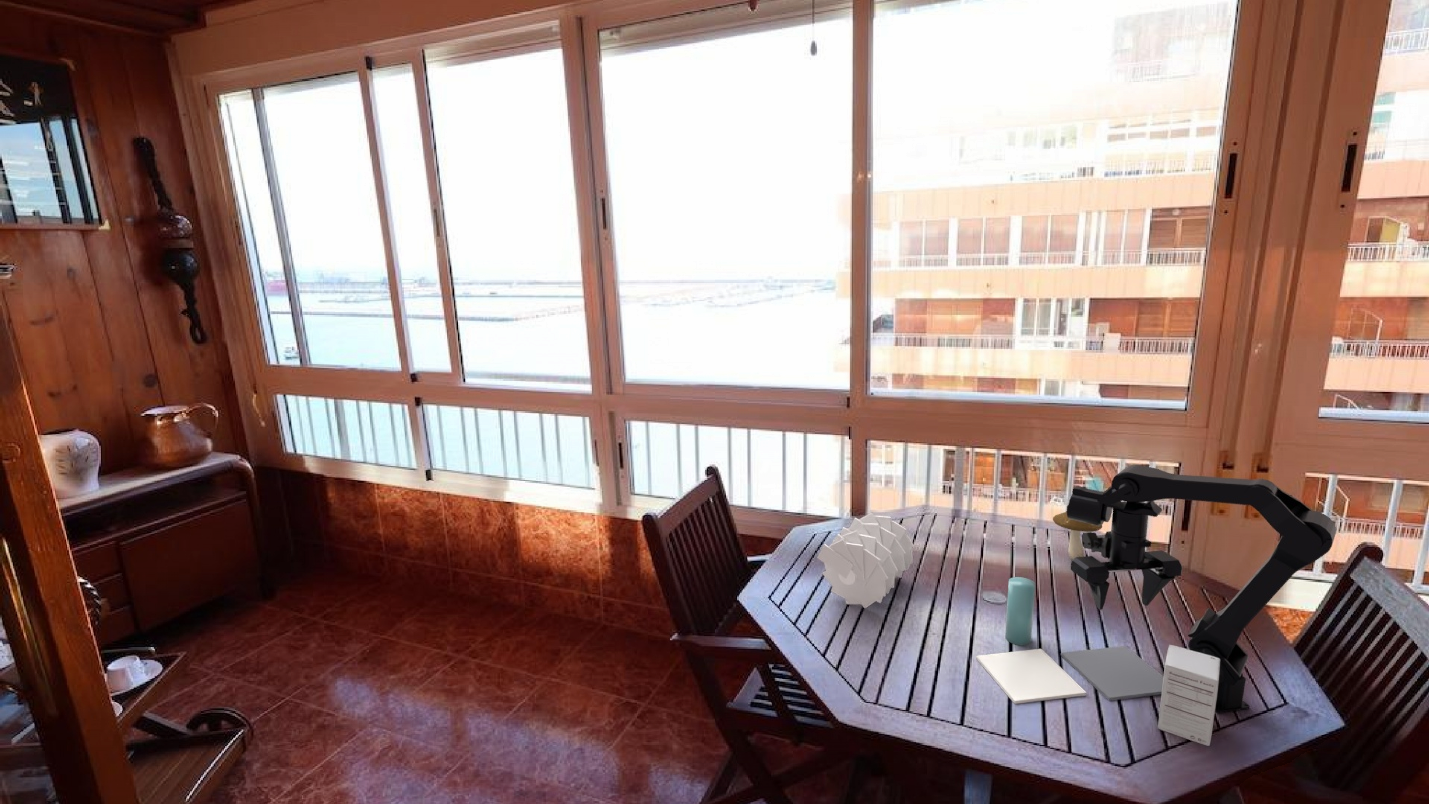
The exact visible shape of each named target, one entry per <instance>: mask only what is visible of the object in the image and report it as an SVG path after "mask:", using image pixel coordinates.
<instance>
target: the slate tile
mask: <svg viewBox="0 0 1429 804" xmlns="http://www.w3.org/2000/svg"><path fill="white" fill-rule="evenodd" d="M1060 656H1061V658H1063V659H1064V661H1066V662H1067V663H1068V664H1069V665H1070V666H1071V667H1072V668H1074V669H1075V670H1076V671H1077V672H1078V674H1079V675H1081V676H1082V677H1083V678H1084V679H1085V680H1086V681H1087V682H1088V683H1090V684H1091V685H1092V686H1093V687H1094V688H1095V689H1096V691H1098V692H1099V693H1100V694H1102V696H1103V697H1104V698H1105V699H1107V700H1108V701H1115V700H1125V699H1126V700H1127V699H1132V698H1133V699H1134V698H1141V697H1149V696H1150V697H1151V696H1158V695H1162V687H1163V678H1164V675H1162V674H1161V673H1160V672H1159V671H1158V670H1156V669H1155V668H1154V667H1152V666H1151V665H1150V664H1149V663H1147V662H1146V660H1144V659H1142V657H1140V656H1138V655H1137V654H1136V653H1135V652H1134V651H1133V650H1131V649H1130V648H1129V647H1127V646H1126V645H1121V646H1120V645H1119V646H1113V647H1111V646H1110V647H1104V648H1103V647H1101V648H1094V649H1092V648H1091V649H1085V650H1084V649H1083V650H1075V651H1065V652H1061V653H1060Z"/></svg>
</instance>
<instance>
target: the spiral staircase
mask: <svg viewBox="0 0 1429 804" xmlns="http://www.w3.org/2000/svg"><path fill="white" fill-rule="evenodd" d="M906 531H907V528H905V527H904V526H902V525H901V524H899V523H898V522H896V521H894V520H892V517H891V516H885V515H884V516H882V515H875V514H874V513H873V512H871V513H868V514H866V515H864V516H863V517H861V518H857V517H854V518H853V521H852V522H851V524H850V526H849V527H844V526H843V527H842V529H841V531H840V534H839V533H837V535H835V537H834V539H833V541H832V542H831V543H830V545H828V544H825V543H824V544H823V546H822V548H820V551H819V553H818V555H817V557H816V558H817V559H818V560H820V561H821V562H822V563H823V564H824V569H825V571H823V572H822V575H823V576H824V578H825V580H827V581H828V583H829V584H830V585H831V590H830V592H832V593H833V594H835V595H837V596H839V597H840V598H843V599H844V600H845V602H846V605H861V606H862V607H863V608H864V609H867V608H868V607H869V606H870V605H873V604H874V603H875V602H877V603H879V604H881V603H882V601H883V598H884V597H886V596H887V594H889V593H890V590H891V589H894V588H895V580H896V578H897V577H898V578H900V579H901V578H902V577H903V573H904V571H908V570H909V568H910V565H911V564H913V563H914V560H913V548H914V547H915V545H914V542H913V541H912V540H911V538H910V537H909V535H908V533H907V532H906Z"/></svg>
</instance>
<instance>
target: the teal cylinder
mask: <svg viewBox="0 0 1429 804" xmlns="http://www.w3.org/2000/svg"><path fill="white" fill-rule="evenodd" d="M1035 593H1036V583H1035V582H1034V581H1033V580H1032V579H1029V578H1026V577H1022V576H1017V577H1016V576H1013V577H1010V578H1009V579H1008V587H1007V600H1006V601H1007V602H1006V603H1007V605H1006V619H1005V632H1004V633H1005V635H1004V637H1005V638H1004V639H1006V641H1007V642H1009V643H1011V644H1012V645H1015V646H1022V647H1023V646H1028V645H1030V644H1031V643H1032V636H1033V635H1032V634H1033V623H1034V622H1033V621H1034V620H1033V619H1034V607H1035V606H1034V605H1035V595H1036V594H1035Z"/></svg>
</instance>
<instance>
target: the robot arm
mask: <svg viewBox="0 0 1429 804" xmlns="http://www.w3.org/2000/svg"><path fill="white" fill-rule="evenodd" d="M1167 499H1168V500H1169V499H1170V500H1172V499H1174V500H1185V501H1195V502H1196V501H1197V502H1208V503H1216V504H1217V503H1218V504H1227V505H1228V504H1231V505H1240V506H1251V508H1253V509H1254V510H1256V511H1257V512H1258V513H1259V514H1260V516H1262V517H1263V519H1264V520H1265V521H1266V522H1267V523H1268V524H1269V525H1270V526H1271V528H1272V529H1273V530H1275V531H1276V532H1277V533H1278V534H1279V535H1280V536H1281V537H1280V539H1279V540H1278V543H1277V544H1276V547H1275V548H1274V551H1273V552H1272V553H1271V554H1270V556H1269V557H1268V558H1267V559H1266V560H1265V561H1264V563H1263V564H1262V565H1261V566H1260V567H1259V568H1258V569H1257V571H1256V572H1255V573H1254V574H1253V575H1252V577H1251V578H1249V580H1248V581H1247V582H1246V583H1245V584H1244V585H1243V587H1242V588H1241V589H1240V590H1239V591H1238V592H1237V593H1236V595H1235V596H1234V597H1233V598H1232V599H1231V600H1230V601H1229V603H1228V604H1227V605H1226V606H1225V607H1224V608H1223V609H1221V610H1219V611H1217V612H1215V611H1214V610H1213V609H1212V608H1210V607H1207V609H1206V610H1205V612H1204V614H1203V615H1202V617H1201V618H1200V619H1197V620H1196V621H1195V622H1194V624H1193V626H1192V627H1191V629H1190V631H1189V633H1188V634H1187V637H1188V638H1190V640H1189V641H1188V646H1187V647H1188V650H1192V651H1195V652H1199V653H1203V654H1207V655H1210V656H1214V657H1217V658H1219V659H1220V670H1219V682H1218V691H1217V699H1216V706H1215V712H1216V713H1226V712H1228V713H1229V712H1235V711H1243V710H1250V705H1249V704H1248V703H1247V702H1245V701H1244V696H1245V695H1244V694H1245V689H1246V688H1245V687H1246V681H1247V678H1246V677H1245V676H1244V674H1243V671H1244V669H1245V666H1246V664H1247V662H1248V659H1249V654H1248V653H1247V652H1246V651H1245V650H1244V648H1243V647H1242V646H1241V645H1240V644H1239V643H1238V640H1239V639H1240V637H1241V634H1242V633H1243V631H1244V629H1245V628H1246V627H1247V626H1248V625H1249V624H1250V623H1251V621H1252V620H1253V619H1254V618H1255V617H1256V616H1257V615H1258V614H1259V613H1260V612H1261V610H1263V608H1264V607H1265V606H1266V605H1267V604H1268V603H1269V602H1270V600H1272V598H1273V597H1274V596H1275V595H1276V594H1277V593H1279V591H1280V590H1281V589H1282V587H1284V586H1285V585H1286V583H1288V581H1289V580H1290V579H1291V578H1292V577H1293V576H1294V575H1295V573H1297V572H1299V571H1300V570H1303V569H1304V568H1306V567H1308V566H1311V564H1313V563H1315V562H1316V561H1317V560H1319V559H1321V558H1322V557H1323V556H1325V555H1326V554H1328V553H1329V552H1330V550H1331V548H1332V547H1333V543H1334V541H1335V537H1336V535H1337V526H1336V523H1335V522H1334V521H1333V520H1332V519H1331V517H1329V516H1328V515H1326V514H1325V513H1322V512H1320V511H1317V510H1316V511H1315V510H1313V509H1311V508H1310V507H1309V506H1307V505H1306V504H1305V503H1304V502H1302V501H1301V500H1300V499H1298V498H1296V497H1295V496H1292V495H1291V494H1289V493H1287V492H1286V491H1284V490H1282V489H1281V488H1280V487H1279V486H1277V485H1276V484H1275V483H1274V482H1272V481H1271V480H1268V479H1266V478H1255V479H1248V478H1235V477H1234V478H1232V477H1220V476H1219V477H1218V476H1207V475H1206V476H1204V475H1187V474H1176V473H1170V472H1167V471H1164V470H1162V469H1158V468H1156V467H1150V466H1145V465H1140V464H1129V465H1128V466H1126V467H1125V468H1123V469H1122V470H1121V471H1119V472H1118V473H1117V474H1116V475H1115V476H1114V477H1113V478H1112V480H1111V486H1109V487H1108V488H1107V489H1106V490H1104V491H1101V490H1096V489H1092V488H1091V489H1090V488H1088V487H1084V486H1080V485H1076V486H1075V487H1073V488H1072V493H1071V496H1070V498H1069V502H1068V505H1067V506H1066V511H1067V517H1068V519H1072V520H1076V521H1080V522H1085V523H1089V524H1093V525H1098V526H1101V525H1102V526H1103V524H1104V522H1105V523H1109V522H1110V519H1111V528H1110V529H1111V530H1110V531H1106V532H1105V533H1104V534H1100V535H1099V534H1098V535H1097V533H1096V532H1095V531H1094V532H1082V536H1081V543H1082V547H1083V549H1087V550H1090V552H1091V553H1101V554H1100V556H1101V557H1102V558H1105V559H1108V561H1100V560H1099V559H1097V558H1096V557H1095V556H1092V555H1088V556H1087V555H1086V556H1085V555H1084V557H1075V558H1074V559H1071V561H1070V571H1071V572H1073V573H1074V574H1076V575H1077V576H1079V578H1081V579H1082V580H1083V581H1085V582H1086V583H1088V586H1089V588H1090V590H1091V594H1092V597H1093V599H1094V602H1095V605H1096V608H1097V609H1099V611H1100V610H1101V611H1102V610H1103V609H1104V607H1105V603H1106V599H1107V595H1108V591H1109V586H1110V582H1109V581H1107V580H1109V578H1110V573H1116V572H1117V573H1119V572H1127V571H1129V572H1130V571H1131V572H1132V571H1139V570H1140V571H1141V572H1142V575H1143V578H1142V590H1141V592H1142V593H1141V603H1142V605H1144V606H1145V607H1148V606H1149V605H1150V604H1151V602H1153V601H1154V599H1155V598H1156V597H1157V595H1158V594H1159V593H1160V592H1161V590H1163V589H1164V588H1165V587H1166V586H1167V585H1168V584H1169V583H1170V582H1171V581H1175V580H1176V577H1181V576H1182V573H1183V565H1182V563H1181V561H1180V560H1179V559H1177V558H1176V557H1174V556H1172V555H1170V554H1169V553H1167V552H1166V551H1164V550H1150V551H1146V548H1151V547H1152V541H1151V540H1149V539H1147V535H1148V534H1147V533H1148V524H1149V517H1153V518H1157V517H1158V516H1159V515H1160V514H1161V513H1162V512H1163V509H1162V507H1160V506H1159V504H1157V503H1156V502H1155V501H1160V500H1167Z"/></svg>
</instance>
